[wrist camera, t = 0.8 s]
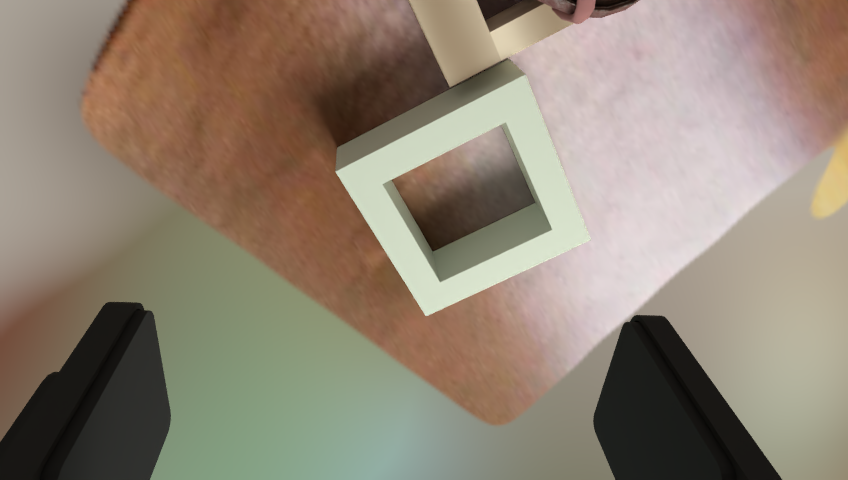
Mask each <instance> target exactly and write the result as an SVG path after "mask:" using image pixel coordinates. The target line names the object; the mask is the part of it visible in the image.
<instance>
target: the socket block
mask: <svg viewBox="0 0 848 480" xmlns="http://www.w3.org/2000/svg"><path fill="white" fill-rule="evenodd" d="M408 2H409V4H410V6H411V8H412V10H413V12H414V14H415V16H416V18H417V21H418V23H419V25H420V27H421V29H422V31H423V33H424V35H425V38H426V40H427V42H428V44H429V46H430V48H431V50H432V52H433V55H434V57H435V59H436V61H437V63H438V65H439V67H440V69H441V71H442V74H443V76H444V77H445V79H446V81H447V83H448V85H449V86H450V87H452V86H454V85H456V84H458V83H460V82H462V81H463V80H465V79H467V78H469V77H471V76H473V75H475V74H477V73H479V72H481V71H483V70H485V69H487V68H489V67H490V66H492V65H494V64H496V63H498V62H500V61H502V60H504V59H506V58H508V57H510V56H512V55H514V54H516V53H517V52H519V51H521V50H523V49H525V48H527V47H529V46H531V45H533V44H535V43H537V42H539V41H541V40H543V39H544V38H546V37H548V36H550V35H552V34H554V33H556V32H558V31H560V30H562V29H564V28H566V27H568V26H570V25H571V24H573V23H572V22H568V21H565V20H562V19H560V18H559V17H558V16H557V15H556V14H555V13H554V11H553V10H552V7H550V6H548V5H546V4H544V3H542V2H540V1H538V0H523V1H521V2H519V3H517V4H515V5H513V6H511V7H510V8H508V9H506V10H504V11H502V12H500V13H498V14H496V15H494V16H493V17H491V18H489V19H487V20H484V17H483V15H482V12H481V10H480V7H479V5H478V3H477V0H408Z"/></svg>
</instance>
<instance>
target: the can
mask: <svg viewBox="0 0 848 480" xmlns="http://www.w3.org/2000/svg"><path fill="white" fill-rule="evenodd" d="M538 1H540V2H542V3H544V4H546V5H548V6H550V7H552V10H553V11H554V13H555V14H556V15H557V16H558V17H559V18H560V19H562V20H565V21H568V22H572V23H575V24H580V23H582V22H583V21H585V20H586V19H588V18H589V17H592V18H602V17H605V16H608V15H611V14H614V13H617V12H620V11H624V10H626V9H627V8H629V7H630V6H632V5H633V4H635V3H636V2H638V1H639V0H538Z"/></svg>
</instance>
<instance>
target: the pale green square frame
mask: <svg viewBox="0 0 848 480" xmlns="http://www.w3.org/2000/svg"><path fill="white" fill-rule="evenodd" d="M499 125H502V128H503V130H504V132H505V134H506V137H507V139H508V141H509V144H510V146H511V148H512V150H513V153H514V155H515V157H516V159H517V162H518V164H519V166H520V169H521V171H522V173H523V175H524V178H525V180H526V182H527V185H528V187H529V189H530V191H531V194H532V196H533V198H534V201H535V203H534V204H531V205H529V206H527V207H525V208H523V209H521V210H519V211H517V212H515V213H513V214H511V215H508V216H506V217H504V218H502V219H500V220H498V221H496V222H494V223H492V224H490V225H488V226H485V227H483V228H481V229H479V230H477V231H475V232H473V233H471V234H469V235H467V236H465V237H462V238H460V239H458V240H456V241H454V242H452V243H450V244H448V245H446V246H444V247H442V248H439V249H437V250H435V251H432V249H431V248H430V246H429V244H428V242H427V241H426V239H425V237H424V236H423V234H422V232H421V230H420V229H419V227H418V225H417V223H416V222H415V220H414V218H413V216H412V215H411V213H410V211H409V209H408V208H407V206H406V204H405V202H404V201H403V199H402V197H401V196H400V194H399V192H398V190H397V189H396V187H395V185H394V183H393V182H392V179H394V178H396V177H398V176H400V175H402V174H404V173H406V172H408V171H410V170H412V169H414V168H416V167H418V166H420V165H422V164H424V163H426V162H428V161H430V160H432V159H434V158H436V157H438V156H440V155H441V154H443V153H445V152H447V151H449V150H451V149H453V148H455V147H457V146H459V145H461V144H463V143H465V142H467V141H469V140H471V139H473V138H475V137H477V136H479V135H481V134H483V133H485V132H487V131H489V130H491V129H493V128H495V127H497V126H499ZM335 172H336V173H337V175H338V177H339V178H340V180H341V181H342V183H343V184H344V186H345V188H346V189H347V191H348V192H349V194H350V196H351V197H352V199H353V200H354V202H355V204H356V205H357V207H358V208H359V210H360V212H361V213H362V215H363V216H364V218H365V220H366V221H367V223H368V224H369V226H370V228H371V229H372V231H373V232H374V234H375V236H376V237H377V239H378V240H379V242H380V244H381V245H382V247H383V248H384V250H385V252H386V253H387V255H388V256H389V258H390V259H391V261H392V263H393V264H394V266H395V267H396V269H397V271H398V272H399V274H400V275H401V277H402V279H403V280H404V282H405V283H406V285H407V287H408V288H409V290H410V291H411V293H412V295H413V296H414V298H415V299H416V301H417V303H418V304H419V306H420V307H421V309H422V311H423V312H424V314H425V315H426V316H428V315H430V314H432V313H434V312H436V311H439V310H441V309H443V308H445V307H447V306H449V305H452V304H454V303H456V302H458V301H460V300H462V299H465V298H467V297H469V296H471V295H473V294H475V293H477V292H480V291H482V290H484V289H486V288H488V287H490V286H493V285H495V284H497V283H499V282H501V281H503V280H506V279H508V278H510V277H512V276H514V275H516V274H519V273H521V272H523V271H525V270H527V269H529V268H532V267H534V266H536V265H538V264H540V263H542V262H545V261H547V260H549V259H551V258H553V257H555V256H558V255H560V254H562V253H564V252H566V251H568V250H570V249H573V248H575V247H577V246H579V245H581V244H583V243H586V242H588V241H590V240H591V239H590V236H589V234H588V231H587V229H586V226H585V223H584V221H583V218H582V216H581V213H580V211H579V208H578V206H577V203H576V201H575V198H574V196H573V193H572V191H571V188H570V186H569V183H568V181H567V178H566V175H565V173H564V170H563V168H562V165H561V163H560V160H559V158H558V155H557V153H556V150H555V148H554V145H553V143H552V140H551V138H550V135H549V132H548V130H547V127H546V125H545V122H544V120H543V117H542V115H541V112H540V110H539V107H538V105H537V102H536V100H535V97H534V95H533V92H532V89H531V87H530V84H529V82H528V79H527V77H526V74H525V73H524V72H522V71H521V70H520V69H519V68H518V67H517V66H516V65H515V64H514V63H513V62H512V61H511V60H510V59H507V60H505V61H503V62H501V63H499V64H497V65H496V66H494V67H492V68H490V69H488V70H486V71H484V72H482V73H480V74H478V75H476V76H474V77H472V78H470V79H469V80H467V81H465V82H463V83H461V84H459V85H457V86H455V87H453V88H451V89H449V90H447V91H445V92H443V93H441V94H440V95H438V96H436V97H434V98H432V99H430V100H428V101H426V102H424V103H422V104H420V105H418V106H416V107H414V108H413V109H411V110H409V111H407V112H405V113H403V114H401V115H399V116H397V117H395V118H393V119H391V120H389V121H387V122H385V123H384V124H382V125H380V126H378V127H376V128H374V129H372V130H370V131H368V132H366V133H364V134H362V135H360V136H358V137H357V138H355V139H353V140H351V141H349V142H347V143H345V144H343V145H341V146H339V147H337V157H336V171H335Z"/></svg>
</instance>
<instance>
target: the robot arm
mask: <svg viewBox="0 0 848 480" xmlns="http://www.w3.org/2000/svg"><path fill="white" fill-rule="evenodd" d="M170 417H171V414H170V406H169V401H168V395H167V389H166V383H165V378H164V372H163V367H162V361H161V355H160V349H159V343H158V337H157V331H156V326H155V320H154V315H153V313H152V311H144V308H143V306H142V304H141V303H131V302H108V303H106V304H105V305H104V306H103V307H102V309H101V310H100V312H99V313H98V315H97V316H96V318H95V319H94V321H93V322H92V324H91V325H90V327H89V328H88V330H87V331H86V333H85V334H84V336H83V337H82V339H81V340H80V342H79V343H78V345H77V346H76V348H75V349H74V351H73V352H72V354H71V355H70V357H69V358H68V360H67V361H66V363H65V364H64V366H63V367H62V369H61V370H60V371H59V372H53V373H51V374H49V375H48V376H47V377H46V378H45V379H44V380H43V381H42V383H41V384H40V386H39V387H38V388H37V390H36V391H35V393H34V394H33V396H32V397H31V399H30V400H29V402H28V403H27V404H26V406H25V407H24V409H23V410H22V412H21V413H20V414H19V416H18V417H17V419H16V420H15V422H14V423H13V425H12V426H11V428H10V429H9V430H8V432H7V433H6V435H5V436H4V438H3V439H2V441H1V442H0V480H150V478H151V475H152V472H153V470H154V467H155V465H156V462H157V460H158V457H159V454H160V452H161V449H162V447H163V444H164V441H165V439H166V436H167V434H168V431H169V427H170V419H171V418H170ZM593 422H594V429H595V432H596V435H597V437H598V440H599V442H600V444H601V447H602V449H603V451H604V454H605V456H606V459H607V461H608V463H609V466H610V468H611V470H612V473H613V475H614V477H615V480H782V479H781V477H780V476H779V475H778V473H777V472H776V470H775V469H774V468H773V466H772V465H771V463H770V462H769V461H768V460H767V458H766V456H765V455H764V454H763V452H762V451H761V449H760V448H759V447H758V445H757V444H756V443H755V441H754V440H753V438H752V437H751V435H750V434H749V433H748V431H747V430H746V429H745V427H744V426H743V424H742V423H741V422H740V420H739V419H738V417H737V416H736V415H735V413H734V412H733V410H732V409H731V408H730V407H729V405H728V403H727V402H726V401H725V399H724V398H723V397H722V395H721V394H720V392H719V391H718V389H717V388H716V387H715V385H714V384H713V382H712V381H711V380H710V378H709V377H708V376H707V374H706V373H705V371H704V370H703V369H702V367H701V366H700V364H699V363H698V362H697V360H696V359H695V357H694V356H693V355H692V353H691V352H690V350H689V349H688V348H687V346H686V345H685V343H684V342H683V341H682V339H681V338H680V336H679V335H678V334H677V332H676V331H675V330H674V328H673V327H672V325H671V324H670V323H669V321H668V320H667V319H666V318H665V317H663V316H650V315H648V316H647V315H636V316H634V317H633V318H632V319H631V321H630V322H625V323H624V325H623V327H622V329H621V333H620V336H619V339H618V342H617V345H616V348H615V351H614V355H613V357H612V360H611V363H610V367H609V370H608V373H607V376H606V379H605V382H604V385H603V388H602V391H601V395H600V398H599V401H598V404H597V407H596V410H595V413H594V420H593Z"/></svg>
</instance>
